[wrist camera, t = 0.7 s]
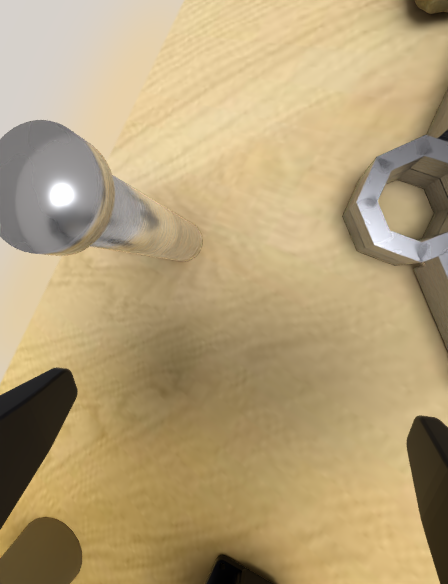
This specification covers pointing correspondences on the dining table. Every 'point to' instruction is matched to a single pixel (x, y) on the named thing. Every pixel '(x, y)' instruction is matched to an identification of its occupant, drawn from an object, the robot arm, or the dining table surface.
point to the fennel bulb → (433, 5)
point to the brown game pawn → (42, 555)
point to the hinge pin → (79, 200)
